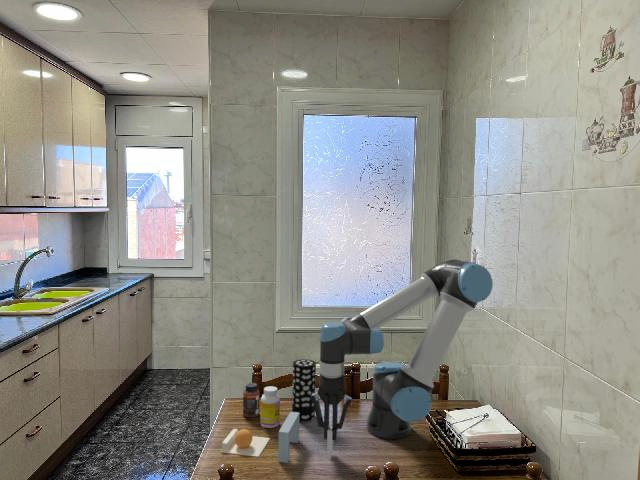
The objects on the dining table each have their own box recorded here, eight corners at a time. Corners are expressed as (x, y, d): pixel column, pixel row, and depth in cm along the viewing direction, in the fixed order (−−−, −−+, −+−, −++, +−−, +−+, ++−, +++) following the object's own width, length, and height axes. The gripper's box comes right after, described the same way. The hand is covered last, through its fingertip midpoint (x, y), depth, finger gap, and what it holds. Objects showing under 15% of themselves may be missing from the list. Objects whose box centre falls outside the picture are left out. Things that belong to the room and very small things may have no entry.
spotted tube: (319, 415, 174) (320, 362, 173) (306, 423, 167) (307, 368, 166) (300, 410, 178) (301, 357, 177) (287, 417, 171) (288, 363, 170)
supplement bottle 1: (261, 416, 172) (262, 385, 172) (246, 419, 169) (247, 388, 168) (255, 410, 177) (255, 380, 177) (240, 413, 174) (240, 383, 173)
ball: (237, 441, 152) (253, 444, 152) (231, 449, 147) (248, 452, 146) (238, 425, 152) (255, 427, 151) (233, 432, 147) (250, 435, 146)
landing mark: (269, 438, 155) (269, 438, 155) (258, 457, 144) (258, 456, 144) (235, 434, 158) (235, 434, 157) (221, 452, 146) (221, 451, 146)
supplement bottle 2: (276, 429, 162) (276, 393, 161) (257, 427, 163) (258, 391, 162) (281, 421, 168) (282, 386, 168) (263, 419, 170) (264, 384, 169)
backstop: (237, 436, 156) (237, 429, 156) (226, 451, 146) (226, 443, 146) (233, 436, 157) (233, 428, 156) (221, 450, 147) (221, 442, 147)
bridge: (298, 440, 155) (299, 412, 154) (287, 462, 141) (288, 432, 140) (290, 439, 155) (290, 411, 155) (278, 461, 141) (278, 431, 141)
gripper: (354, 371, 147) (352, 445, 148) (313, 368, 149) (311, 441, 150) (351, 380, 139) (349, 457, 141) (308, 376, 142) (306, 452, 143)
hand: (330, 449), depth 145 cm, fingers closed
